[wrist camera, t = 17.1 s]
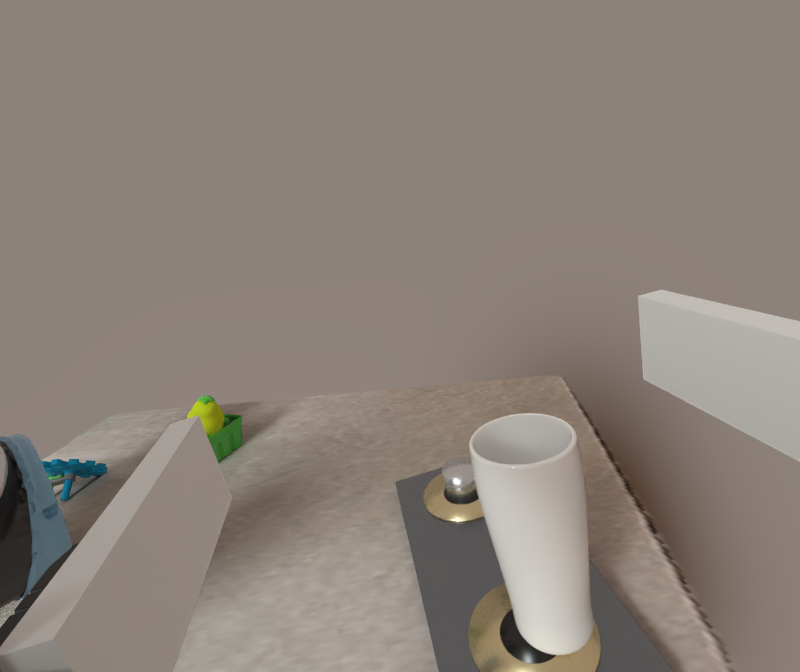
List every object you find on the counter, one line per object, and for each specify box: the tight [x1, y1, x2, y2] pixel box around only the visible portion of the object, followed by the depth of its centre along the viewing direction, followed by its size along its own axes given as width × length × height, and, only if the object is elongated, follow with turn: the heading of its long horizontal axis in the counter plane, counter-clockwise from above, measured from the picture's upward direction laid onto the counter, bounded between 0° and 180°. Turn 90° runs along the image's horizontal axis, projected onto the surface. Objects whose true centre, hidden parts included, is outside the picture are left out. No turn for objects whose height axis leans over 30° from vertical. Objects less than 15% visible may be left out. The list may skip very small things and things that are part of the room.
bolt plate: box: [396, 457, 673, 672], centre depth 39 cm, size 28×14×4 cm, turn 9°
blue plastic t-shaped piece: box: [41, 459, 107, 500], centre depth 72 cm, size 11×6×10 cm
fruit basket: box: [187, 396, 242, 462], centre depth 71 cm, size 11×9×11 cm
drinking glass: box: [469, 413, 594, 655], centre depth 29 cm, size 7×7×15 cm
